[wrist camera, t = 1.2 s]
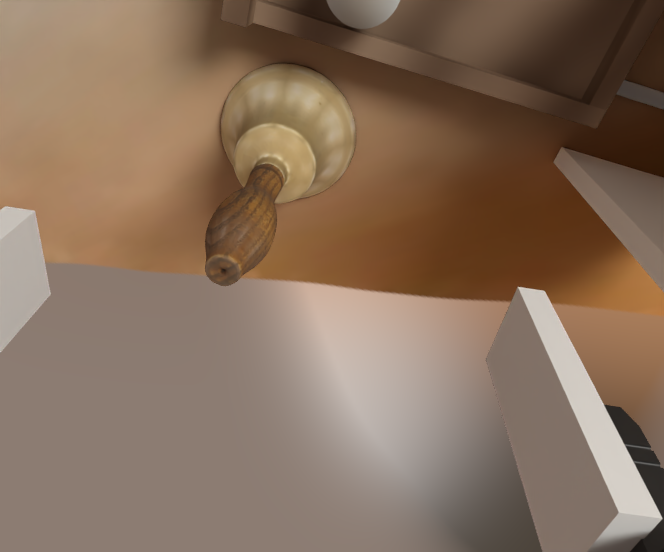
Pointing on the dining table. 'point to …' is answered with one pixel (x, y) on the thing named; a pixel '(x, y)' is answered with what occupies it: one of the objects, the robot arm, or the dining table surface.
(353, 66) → the dining table surface
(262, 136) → the hand bell
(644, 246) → the white upright box
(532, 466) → the robot arm
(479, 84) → the tray
